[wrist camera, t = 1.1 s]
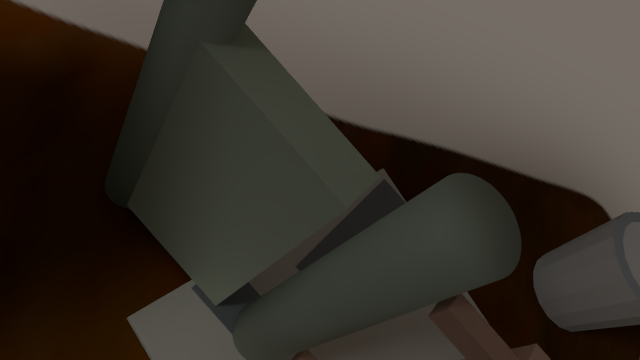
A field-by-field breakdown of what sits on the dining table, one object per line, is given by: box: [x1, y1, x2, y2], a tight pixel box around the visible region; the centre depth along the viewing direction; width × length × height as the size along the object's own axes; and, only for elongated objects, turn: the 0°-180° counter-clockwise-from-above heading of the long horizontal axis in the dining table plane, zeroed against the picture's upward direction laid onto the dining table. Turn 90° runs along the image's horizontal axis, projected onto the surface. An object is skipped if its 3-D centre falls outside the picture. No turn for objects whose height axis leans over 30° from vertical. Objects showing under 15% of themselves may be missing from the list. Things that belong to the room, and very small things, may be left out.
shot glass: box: [533, 212, 640, 332], centre depth 36 cm, size 7×7×7 cm
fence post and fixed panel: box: [104, 0, 521, 360], centre depth 21 cm, size 12×3×16 cm, turn 47°
